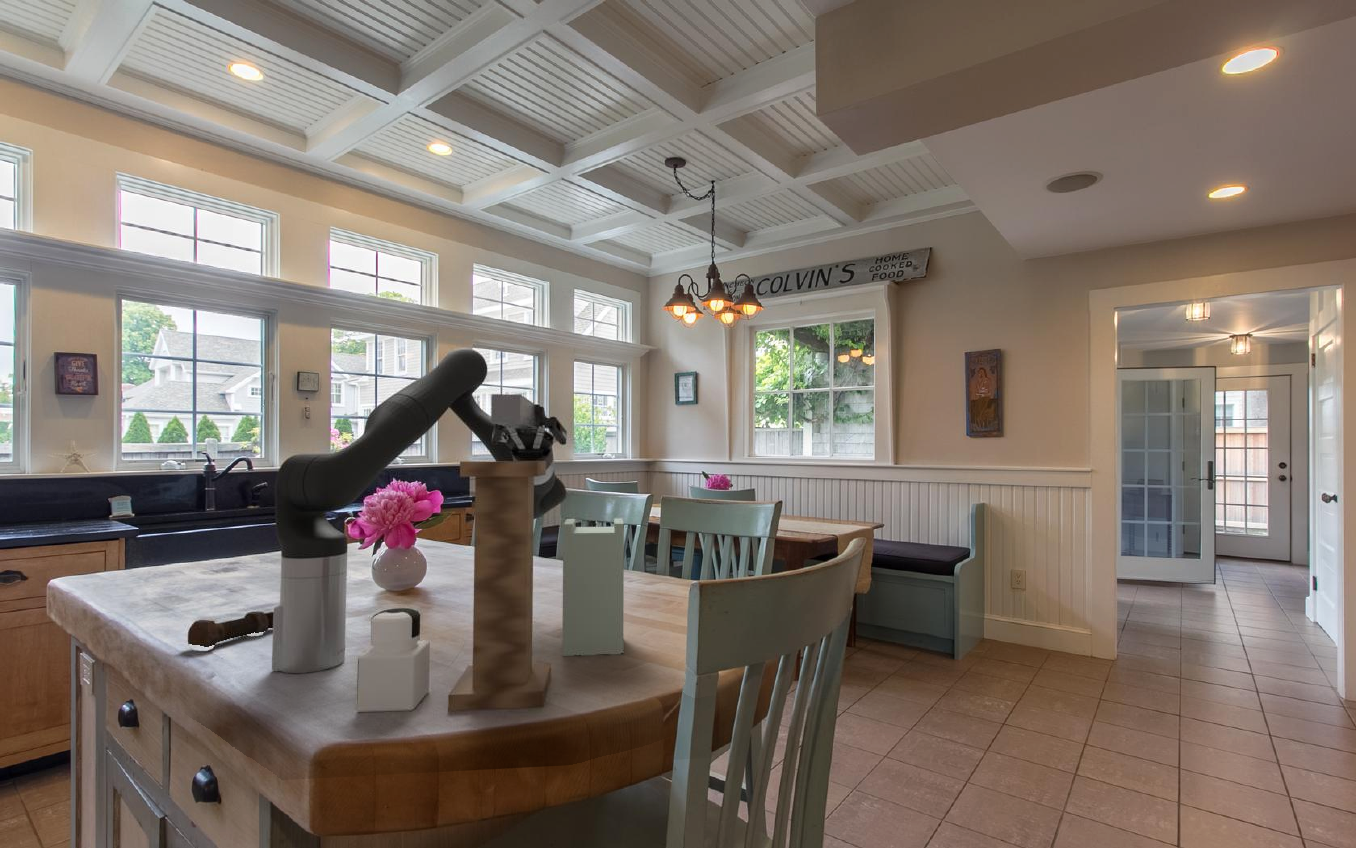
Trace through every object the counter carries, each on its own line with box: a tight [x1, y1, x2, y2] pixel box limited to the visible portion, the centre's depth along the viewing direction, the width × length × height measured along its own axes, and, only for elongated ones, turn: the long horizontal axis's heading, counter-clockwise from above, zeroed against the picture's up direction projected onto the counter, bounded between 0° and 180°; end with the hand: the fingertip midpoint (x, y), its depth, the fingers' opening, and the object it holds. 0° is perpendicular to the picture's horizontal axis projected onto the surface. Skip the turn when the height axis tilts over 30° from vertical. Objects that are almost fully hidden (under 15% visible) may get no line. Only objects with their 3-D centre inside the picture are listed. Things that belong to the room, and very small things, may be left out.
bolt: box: [187, 610, 274, 647], centre depth 118 cm, size 6×5×15 cm
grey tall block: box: [561, 517, 625, 657], centre depth 113 cm, size 10×10×22 cm
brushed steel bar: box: [490, 393, 538, 429], centre depth 104 cm, size 4×24×4 cm, turn 6°
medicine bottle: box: [356, 607, 431, 713], centre depth 87 cm, size 7×7×12 cm
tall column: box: [447, 460, 552, 712], centre depth 91 cm, size 12×12×32 cm
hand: (523, 408), depth 111 cm, fingers closed on brushed steel bar, 4 cm apart
